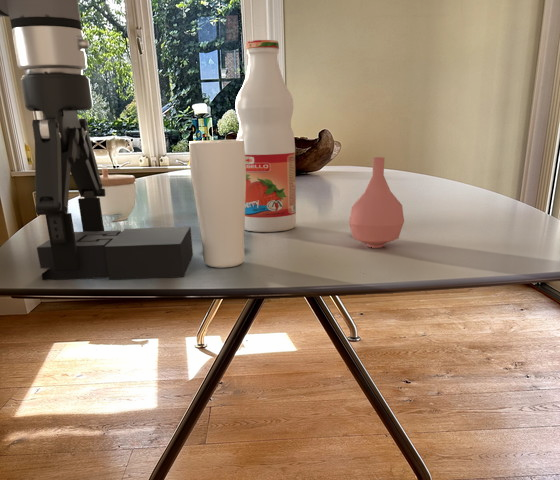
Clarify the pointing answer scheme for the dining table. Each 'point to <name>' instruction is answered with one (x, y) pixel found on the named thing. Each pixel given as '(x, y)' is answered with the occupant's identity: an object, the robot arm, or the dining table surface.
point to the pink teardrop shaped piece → (376, 211)
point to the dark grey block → (88, 255)
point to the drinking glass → (220, 199)
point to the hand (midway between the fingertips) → (82, 257)
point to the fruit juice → (267, 141)
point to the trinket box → (117, 195)
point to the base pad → (147, 252)
